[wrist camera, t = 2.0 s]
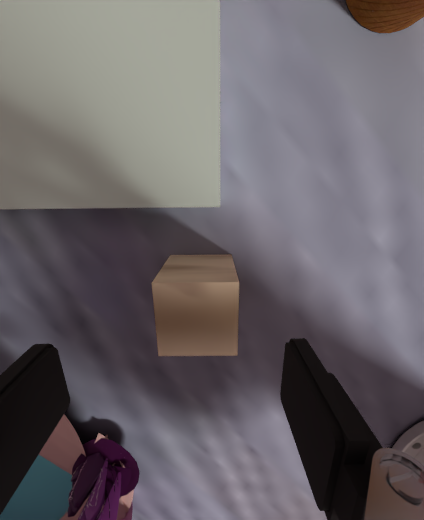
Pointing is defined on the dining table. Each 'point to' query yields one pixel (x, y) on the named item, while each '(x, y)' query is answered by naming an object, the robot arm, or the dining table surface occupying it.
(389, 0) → the disposable coffee cup
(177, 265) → the maple block
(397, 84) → the dining table surface
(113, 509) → the purple clam shell
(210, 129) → the sage stand
